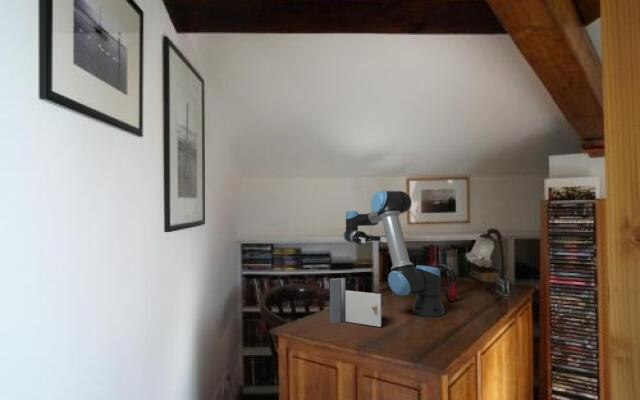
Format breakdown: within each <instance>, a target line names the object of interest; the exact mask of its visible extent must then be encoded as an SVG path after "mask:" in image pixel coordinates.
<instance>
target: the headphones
mask: <svg viewBox="0 0 640 400" xmlns="http://www.w3.org/2000/svg"><path fill="white" fill-rule="evenodd" d="M432 267H435V268H438V269H440V268H442V269H444V270H445V271H446V272H447V273H448V274H449V276H450V278H451V283H449V284H447V286H446V287H445V291H444V295H445V296H444V297H445V299H446V300H447V301H448V302H452V301H453V302H454V301H455V300H456V299H457V297H458V296H459V295H458V294H459V291H458V287H457V286H458V283H457V277H456V276H457V275H456V274H455V271H454V270H453V269H452V267H450V266H448V265H447V264H444V263H440V264H435V265H433V266H432Z"/></svg>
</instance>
